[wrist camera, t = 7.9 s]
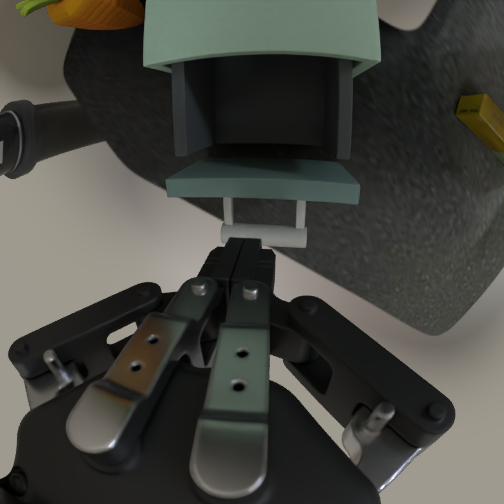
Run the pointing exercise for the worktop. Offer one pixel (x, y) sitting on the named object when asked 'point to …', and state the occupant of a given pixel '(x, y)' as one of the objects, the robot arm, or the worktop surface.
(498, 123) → the medication box
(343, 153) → the green drawer
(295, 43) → the green drawer housing
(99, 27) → the carrot
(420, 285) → the worktop surface
